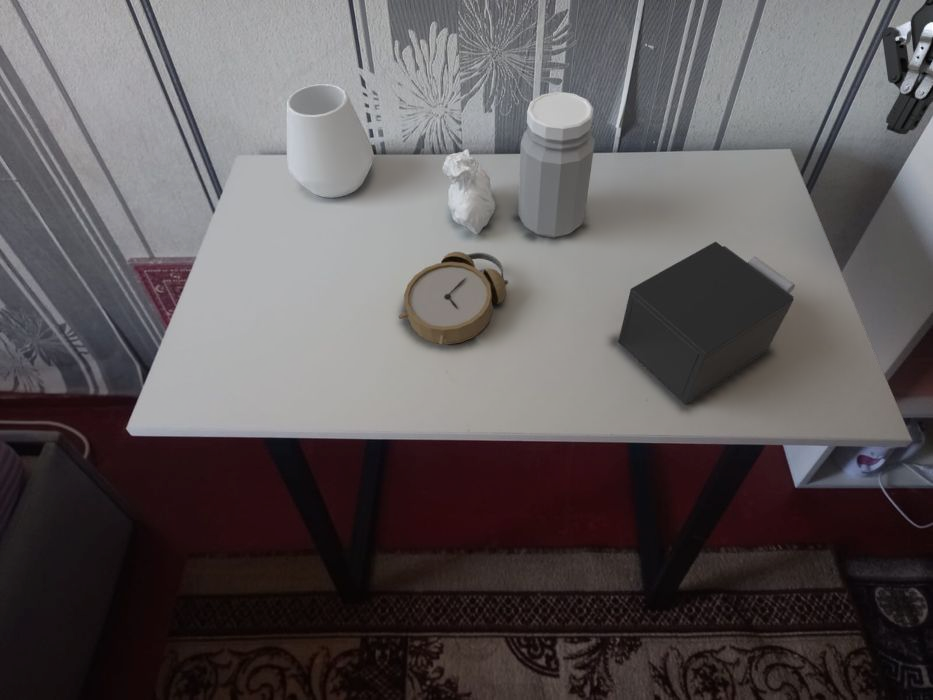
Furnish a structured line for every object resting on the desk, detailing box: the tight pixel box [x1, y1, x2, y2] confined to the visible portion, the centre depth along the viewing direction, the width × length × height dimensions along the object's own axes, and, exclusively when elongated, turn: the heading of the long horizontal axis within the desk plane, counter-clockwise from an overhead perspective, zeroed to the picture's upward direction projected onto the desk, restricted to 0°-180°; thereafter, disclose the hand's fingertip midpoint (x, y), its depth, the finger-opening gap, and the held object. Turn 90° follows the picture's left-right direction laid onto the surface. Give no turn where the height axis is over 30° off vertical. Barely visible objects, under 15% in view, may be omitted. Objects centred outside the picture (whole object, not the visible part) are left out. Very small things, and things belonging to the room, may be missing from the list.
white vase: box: [286, 83, 375, 199], centre depth 99 cm, size 13×13×14 cm
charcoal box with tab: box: [618, 241, 794, 406], centre depth 77 cm, size 14×12×10 cm
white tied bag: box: [441, 148, 496, 235], centre depth 94 cm, size 12×8×11 cm
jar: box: [517, 91, 596, 239], centre depth 90 cm, size 10×10×18 cm
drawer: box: [722, 245, 796, 299], centre depth 78 cm, size 17×10×8 cm, turn 123°
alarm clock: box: [398, 251, 509, 346], centre depth 85 cm, size 11×5×15 cm
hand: (896, 131), depth 72 cm, fingers closed
